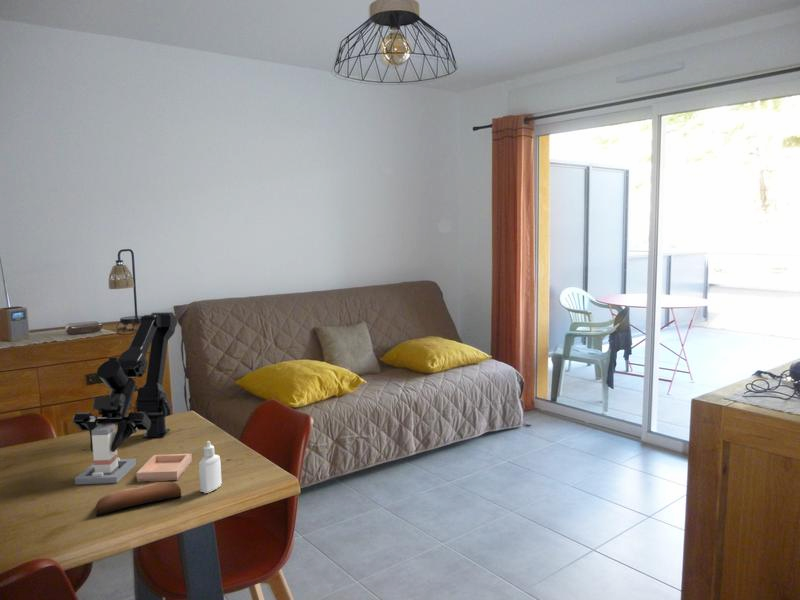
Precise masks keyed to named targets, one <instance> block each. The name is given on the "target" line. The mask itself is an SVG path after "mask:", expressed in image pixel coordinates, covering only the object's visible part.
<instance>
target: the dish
mask: <svg viewBox="0 0 800 600" xmlns="http://www.w3.org/2000/svg"><path fill="white" fill-rule="evenodd" d="M192 459H193V458H192V453H173V454H171V453H170V454H154V455H152V456H151V457H150V458H149V459H148V460H147V461H146V462H145V464H143V465H142V467H141V468H140V469H138V471H136V474H135V475H136V482H137V483H142V482H141V481H150V482H164V481H163V480H176V481H178V480H179V479H180V478H181V477H182V475H183V474H184V473H185V472H186V470H187V469H188V468H189V466H190V465H191V464H192V463H191V462H192V461H193V460H192ZM190 463H191V464H190ZM189 464H190V465H189ZM187 467H188V468H187ZM186 468H187V469H186ZM183 472H184V473H183ZM182 473H183V474H182ZM181 474H182V475H181ZM180 476H181V477H180ZM179 477H180V478H179ZM178 478H179V479H178Z"/></svg>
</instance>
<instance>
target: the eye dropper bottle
mask: <svg viewBox="0 0 800 600" xmlns="http://www.w3.org/2000/svg"><path fill="white" fill-rule="evenodd" d="M198 470H199V471H198V474H199V475H198V476H199V489H200V490H199V492H200V493H201V492H204V493H203V494H206V493H208V492H211V491H213V490H215V489H217V488H218V487H220V486H222V485H221V484H223V483H222V481H223V480H222V467H221V456H220V455H219V454H215V446H214V445H213V444H211V441H210V440H207V441H206V446H204V447H203V457H202V458H201V459H200V461H199V462H198ZM220 488H221V487H220ZM217 490H218V489H217ZM211 493H212V492H211ZM208 494H209V493H208Z"/></svg>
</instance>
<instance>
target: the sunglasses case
mask: <svg viewBox="0 0 800 600" xmlns="http://www.w3.org/2000/svg"><path fill="white" fill-rule="evenodd" d="M180 497H181V498H182V489H181V487H180V485H179V484H178V483H177V482H173V481H156V482H152V483H151V482H150V483H147V484H144V485H141V486H140V485H136V486H134V487H129V488H123V489H119V490H115V491H114V492H110V493H109V494H106V495H105V496H103V497H101V498H100V499H98V501H97V503H96V506H95V507H96V508H95V516H96V515H98V516H100V515H101V516H102V515H104V514H109V513H111V512H115V511H118V510H123V509H125V508H129V507H134V506H139V505H144V504H149V503H154V502H158V501H164V500H169V499H173V498H180Z"/></svg>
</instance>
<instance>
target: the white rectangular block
mask: <svg viewBox="0 0 800 600" xmlns="http://www.w3.org/2000/svg"><path fill="white" fill-rule="evenodd" d="M91 432H92V444H93V452H92V453H93V455H92V456H93V463H94V469H95V472H103V475H113V474H114V473H115V472H116V471H117V470H118V469H119V467H118V458H119V455H118V448H117V449H116V450H115V451H114V452H112V451H111V448H112V444H113V441H114V438H115V435H116V433H117V430H116V424H113V425H99V426H97V427H96V428H94V429H93V430H92V431H91Z"/></svg>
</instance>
